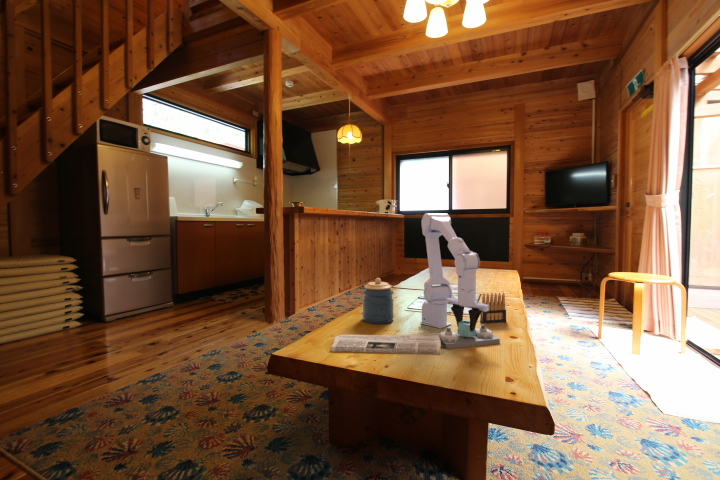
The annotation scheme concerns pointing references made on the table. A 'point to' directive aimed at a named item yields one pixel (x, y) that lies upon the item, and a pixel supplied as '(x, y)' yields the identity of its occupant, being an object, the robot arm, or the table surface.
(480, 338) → the gear board
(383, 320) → the canister
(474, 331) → the teal gear
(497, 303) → the ammunition clip
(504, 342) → the table surface
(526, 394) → the table surface
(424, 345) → the newspaper
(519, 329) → the table surface
